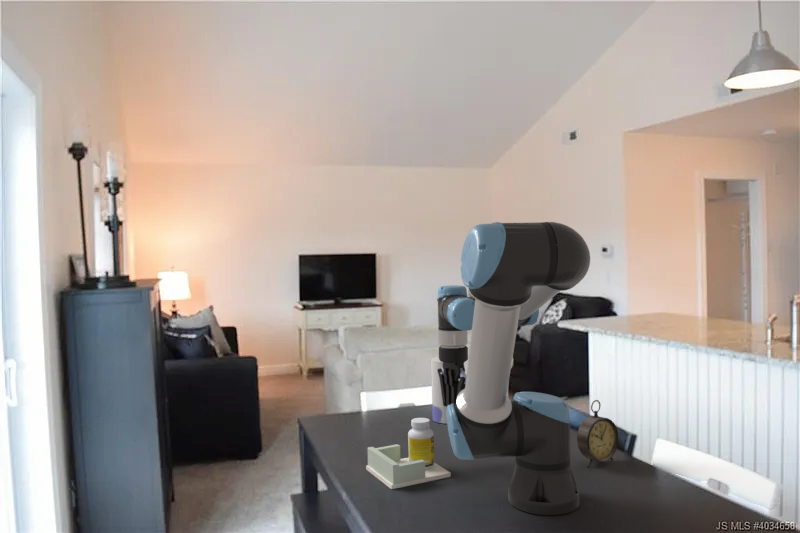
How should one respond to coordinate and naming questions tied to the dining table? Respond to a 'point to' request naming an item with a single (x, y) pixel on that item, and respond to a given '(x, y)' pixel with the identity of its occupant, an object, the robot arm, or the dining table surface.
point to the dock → (400, 468)
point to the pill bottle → (421, 442)
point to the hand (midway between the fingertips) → (454, 435)
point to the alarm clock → (597, 438)
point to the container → (437, 393)
